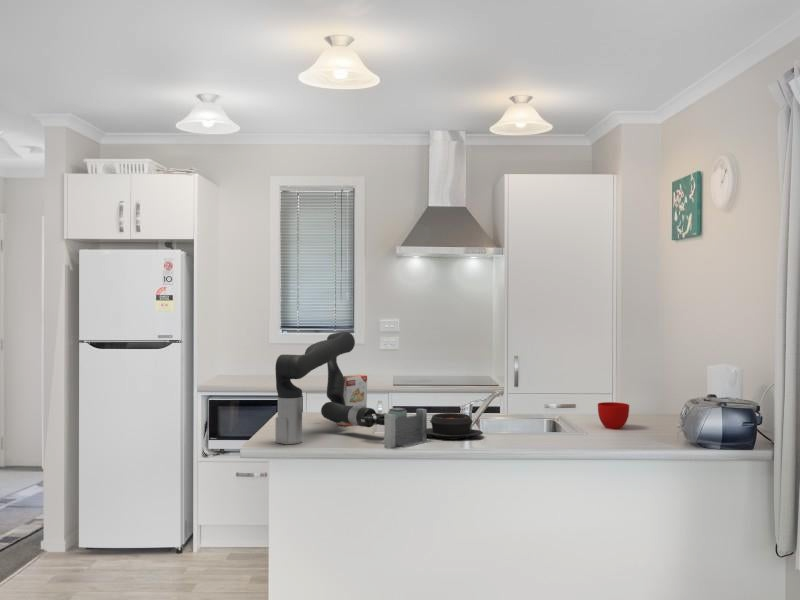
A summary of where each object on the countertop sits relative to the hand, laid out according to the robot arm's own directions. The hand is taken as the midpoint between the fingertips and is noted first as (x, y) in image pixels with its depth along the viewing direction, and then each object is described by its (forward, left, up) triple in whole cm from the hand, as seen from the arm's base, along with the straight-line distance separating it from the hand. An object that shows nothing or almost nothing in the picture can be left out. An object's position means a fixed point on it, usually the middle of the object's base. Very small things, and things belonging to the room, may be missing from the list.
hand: (392, 421), depth 291 cm
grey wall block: (0, -8, -8) cm, 11 cm away
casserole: (+23, -10, -8) cm, 27 cm away
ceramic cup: (+87, -48, -8) cm, 100 cm away
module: (0, -2, -8) cm, 8 cm away
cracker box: (+19, +41, -8) cm, 46 cm away
